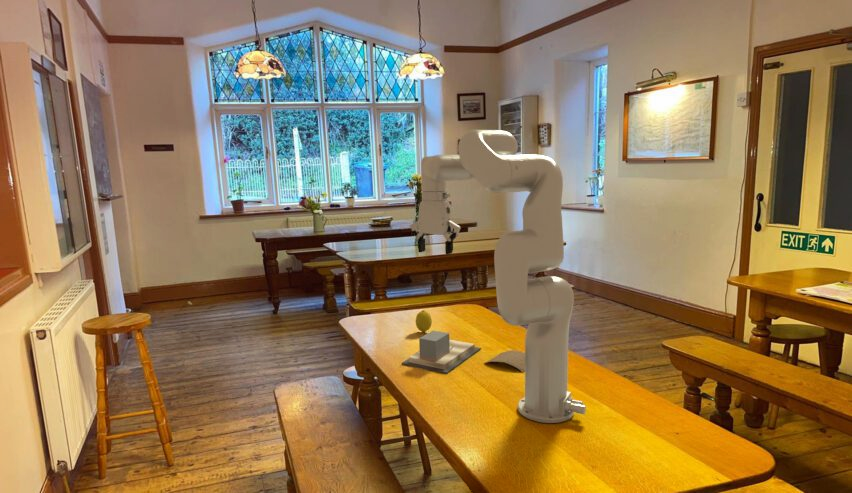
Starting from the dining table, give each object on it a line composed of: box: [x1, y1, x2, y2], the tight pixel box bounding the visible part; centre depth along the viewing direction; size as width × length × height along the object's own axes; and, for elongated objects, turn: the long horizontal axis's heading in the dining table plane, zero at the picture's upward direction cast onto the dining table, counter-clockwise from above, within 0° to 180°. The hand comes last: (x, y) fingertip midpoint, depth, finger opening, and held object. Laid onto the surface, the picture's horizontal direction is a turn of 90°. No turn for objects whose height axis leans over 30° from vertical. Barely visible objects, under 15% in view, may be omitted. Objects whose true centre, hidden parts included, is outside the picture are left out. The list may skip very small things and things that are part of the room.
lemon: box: [415, 309, 433, 334], centre depth 178 cm, size 6×6×8 cm
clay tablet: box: [485, 350, 525, 374], centre depth 149 cm, size 14×10×3 cm
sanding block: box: [418, 330, 451, 361], centre depth 150 cm, size 8×6×6 cm
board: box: [401, 339, 482, 375], centre depth 155 cm, size 22×15×2 cm
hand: (435, 252), depth 159 cm, fingers open, 9 cm apart
